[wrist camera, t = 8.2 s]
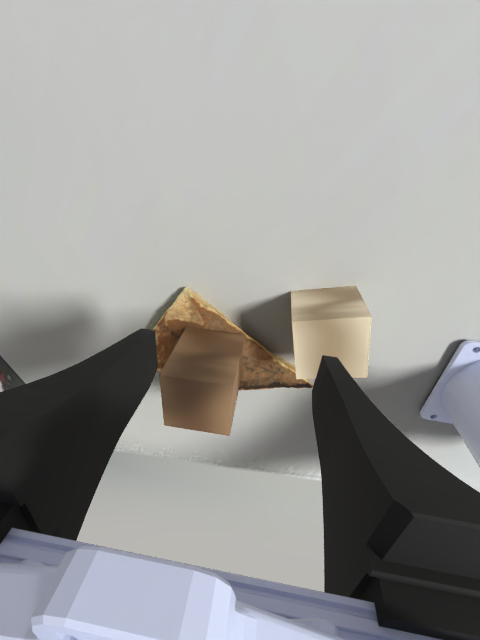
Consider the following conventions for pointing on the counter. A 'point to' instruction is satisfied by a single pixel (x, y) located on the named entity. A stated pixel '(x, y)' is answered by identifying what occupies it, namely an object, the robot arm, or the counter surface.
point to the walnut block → (202, 381)
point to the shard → (196, 313)
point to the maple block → (330, 330)
